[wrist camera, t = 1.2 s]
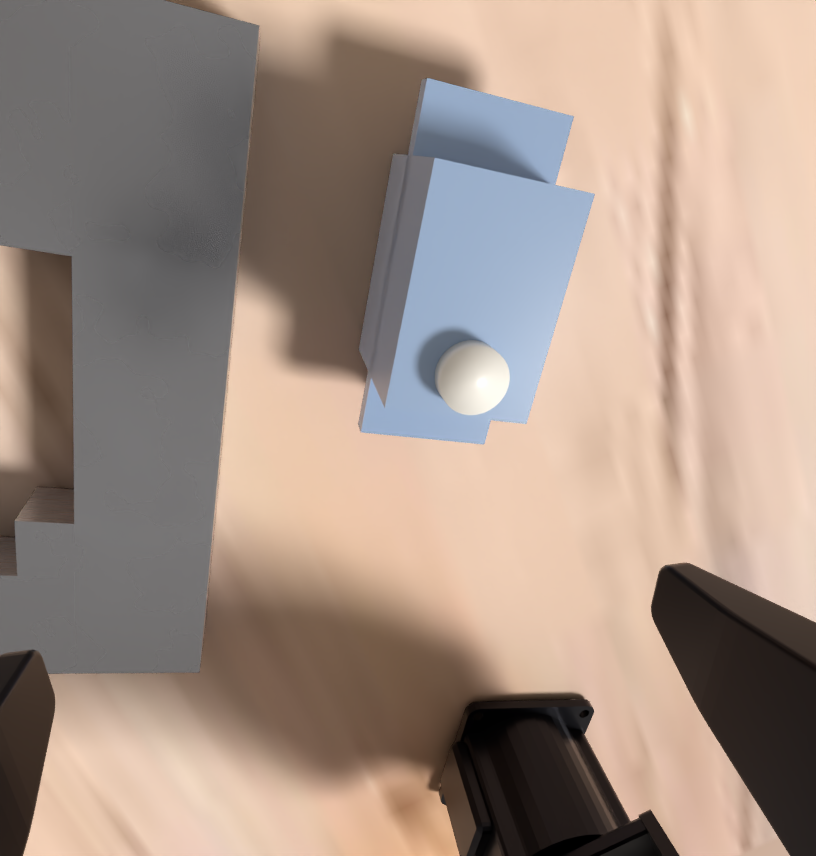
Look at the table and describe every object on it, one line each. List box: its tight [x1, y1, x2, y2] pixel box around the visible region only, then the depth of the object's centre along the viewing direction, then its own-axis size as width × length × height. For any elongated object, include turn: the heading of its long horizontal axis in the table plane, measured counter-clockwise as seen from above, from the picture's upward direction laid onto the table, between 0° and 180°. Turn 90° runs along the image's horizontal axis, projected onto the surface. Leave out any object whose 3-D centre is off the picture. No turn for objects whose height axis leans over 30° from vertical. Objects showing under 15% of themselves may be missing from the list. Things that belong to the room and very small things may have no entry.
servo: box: [358, 78, 595, 444], centre depth 17 cm, size 4×10×6 cm, turn 168°
